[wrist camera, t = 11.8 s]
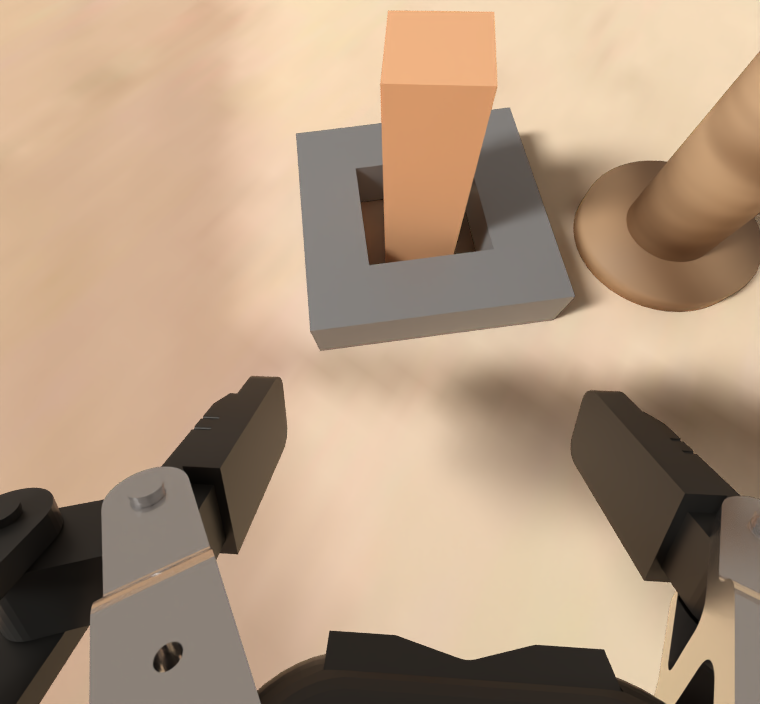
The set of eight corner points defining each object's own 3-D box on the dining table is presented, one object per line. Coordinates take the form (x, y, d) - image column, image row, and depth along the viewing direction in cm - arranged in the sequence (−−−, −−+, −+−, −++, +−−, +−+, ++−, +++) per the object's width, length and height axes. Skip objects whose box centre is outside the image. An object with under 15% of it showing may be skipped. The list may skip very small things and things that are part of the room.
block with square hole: (498, 145, 24) (509, 107, 21) (553, 319, 20) (575, 296, 17) (305, 169, 23) (296, 133, 21) (320, 350, 19) (310, 331, 17)
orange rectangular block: (450, 217, 22) (494, 12, 13) (449, 269, 21) (497, 86, 11) (389, 214, 22) (388, 10, 13) (385, 266, 21) (380, 83, 12)
